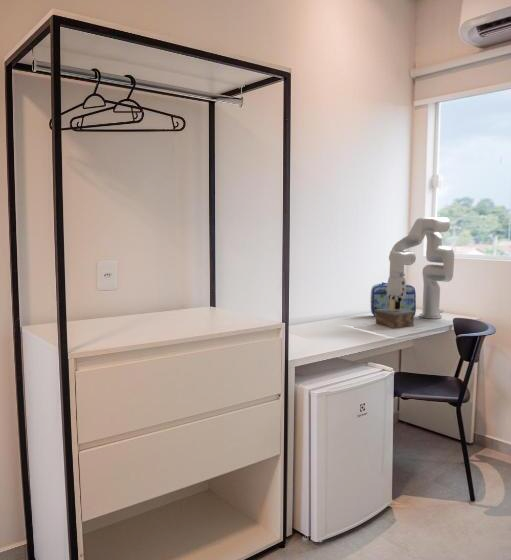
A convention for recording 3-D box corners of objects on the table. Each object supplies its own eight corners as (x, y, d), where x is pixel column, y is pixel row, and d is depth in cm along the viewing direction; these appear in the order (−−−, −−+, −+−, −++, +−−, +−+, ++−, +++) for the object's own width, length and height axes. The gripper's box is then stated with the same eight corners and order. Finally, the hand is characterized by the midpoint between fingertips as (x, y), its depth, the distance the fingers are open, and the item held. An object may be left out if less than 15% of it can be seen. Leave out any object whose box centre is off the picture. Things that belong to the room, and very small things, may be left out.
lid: (394, 308, 297) (395, 296, 296) (415, 313, 284) (416, 300, 283) (375, 311, 289) (375, 298, 288) (395, 315, 276) (396, 302, 275)
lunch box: (370, 318, 310) (372, 283, 308) (368, 315, 321) (370, 281, 318) (416, 319, 308) (417, 284, 305) (412, 316, 318) (414, 282, 316)
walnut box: (394, 323, 297) (394, 309, 296) (413, 327, 285) (414, 313, 284) (376, 325, 290) (376, 311, 289) (395, 330, 278) (395, 315, 277)
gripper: (413, 276, 279) (411, 310, 281) (390, 273, 293) (389, 305, 295) (403, 276, 275) (401, 311, 277) (380, 273, 289) (379, 306, 291)
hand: (395, 308), depth 286 cm, fingers closed on lid, 2 cm apart
